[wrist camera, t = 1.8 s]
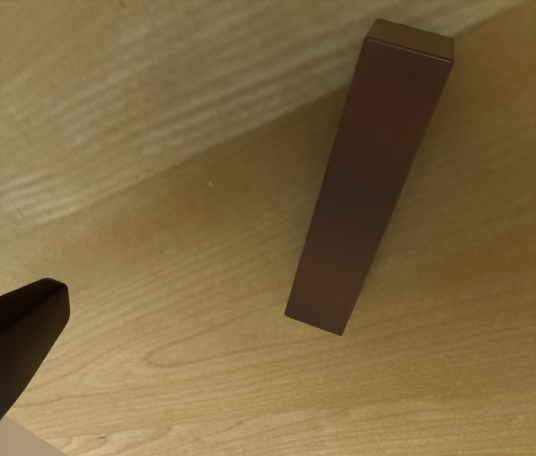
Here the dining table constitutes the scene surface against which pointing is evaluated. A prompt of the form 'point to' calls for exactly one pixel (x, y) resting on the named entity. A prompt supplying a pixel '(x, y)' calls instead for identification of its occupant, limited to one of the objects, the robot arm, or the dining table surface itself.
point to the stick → (368, 167)
